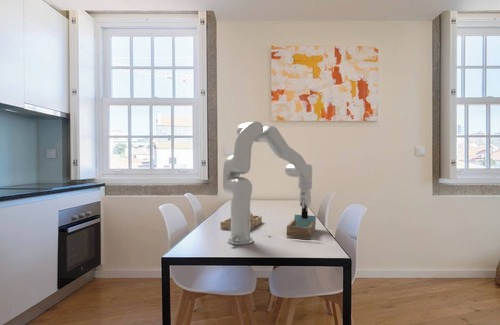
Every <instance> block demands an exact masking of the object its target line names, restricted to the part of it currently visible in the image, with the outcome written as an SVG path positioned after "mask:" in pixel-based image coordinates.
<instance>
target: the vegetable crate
mask: <svg viewBox="0 0 500 325" xmlns="http://www.w3.org/2000/svg"><path fill="white" fill-rule="evenodd" d="M253 216H254V220H253V221H251V222H250V231H251V230H252V229H254V228H255V227H257V226H259V225H261V223H262V221H263V216H262V215H253ZM220 229H221V230H227V229H228V231H231V216H230V217H228V218H226V219H224V220H222V221H220Z"/></svg>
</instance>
